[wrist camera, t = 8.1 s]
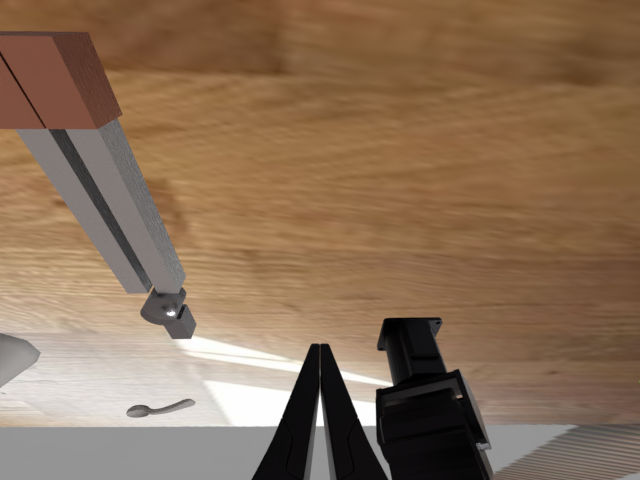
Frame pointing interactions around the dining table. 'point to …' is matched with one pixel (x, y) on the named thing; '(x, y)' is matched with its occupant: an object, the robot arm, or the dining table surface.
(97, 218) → the tongs fixed
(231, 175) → the dining table surface
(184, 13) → the dining table surface
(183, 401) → the spoon
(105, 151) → the tong arm
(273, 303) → the dining table surface
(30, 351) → the flask
